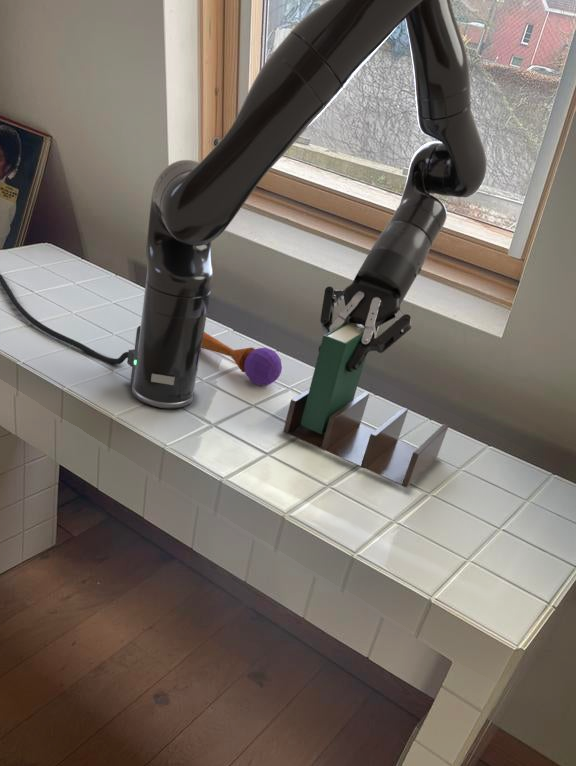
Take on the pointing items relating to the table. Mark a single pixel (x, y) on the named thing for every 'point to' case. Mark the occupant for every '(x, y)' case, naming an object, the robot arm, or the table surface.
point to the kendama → (249, 360)
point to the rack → (367, 440)
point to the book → (332, 377)
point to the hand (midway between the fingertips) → (335, 363)
